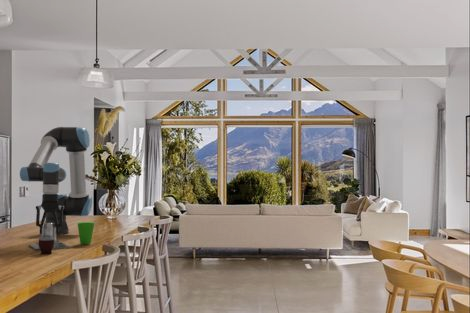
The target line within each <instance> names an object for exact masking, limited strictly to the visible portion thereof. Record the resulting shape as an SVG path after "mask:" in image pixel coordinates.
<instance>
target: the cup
mask: <svg viewBox="0 0 470 313" xmlns="http://www.w3.org/2000/svg"><path fill="white" fill-rule="evenodd" d="M76 224H77V229H78V230H77V231H78V236H79V243H80V245H81V244H89V245H91V243H92V238H93V233H94V229H95V228H94V227H95V222H91V221H90V222H89V221H84V222H77V223H76Z"/></svg>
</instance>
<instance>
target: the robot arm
mask: <svg viewBox="0 0 470 313" xmlns="http://www.w3.org/2000/svg"><path fill="white" fill-rule="evenodd" d="M90 142H91V141H90V134H89V131H88V130H87V128H85V127H79V126H58V127H55V128H52V129H50V130H48V131H47V132H46V133H45V134H44V135H43V136H42V138H41V140H40V145H39V147H38V148H37V150H36V152H35V154H34V155H33V157H32V159H31V161H30V162H29V164H28V166H21V168H20V170H19V177H20V181H22V182H30V183H31V182H39V183H40V182H42V193H43V194H42V199H41V201H42V202H41V204H40V205H36V206H35V210H36V216H35V217H36V219H35V226H36V227H39V234H40V235H41V236H44V223H55V227H54V241H56V240H57V235H66V234H69V232H70V229H69V224H68V223H67V217H69V216H71V217H87V216H89V215H90V214H91V211H92V206H93V197H91V196H89V195H90V193H89V192H88V191H87V188H86V186H87V185H86V184H87V183H86V168H85V167H86V164H85V153H86V151H87V150H88V148H89V147H90ZM57 148H65V152H66V153H68V160H69V178H70V179H69V181H70V192H69V193H68V196H67V193H62V194H59V187H60V185H59V184H60V183H61V182H63V181H65V179H66V178H67V171H66V170H65V169H64V168H62V167H60V164H59V163H58V162H48V161H49V160H50V157H51V156H52V154H53V153H54V151H55V150H57ZM41 210H43V214H42V217H41V216H40V215H41ZM40 217H41V218H40ZM40 219H41V221H40Z"/></svg>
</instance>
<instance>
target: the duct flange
mask: <svg viewBox="0 0 470 313" xmlns="http://www.w3.org/2000/svg"><path fill="white" fill-rule="evenodd" d="M54 242H55V243H54V247H53V249H52V250H65V249H64V248H68V249H70V246H69V245H67V244H65V243H63V242H60V241H59V239H56V241H54ZM28 246H29V247H30V248H31V249H32V250H34V251H41V250H40V248H39V245H38V243H31V244H28Z"/></svg>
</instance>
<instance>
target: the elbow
mask: <svg viewBox="0 0 470 313" xmlns="http://www.w3.org/2000/svg"><path fill="white" fill-rule="evenodd" d="M43 226H44V236H45V227H46V223H45V222H44V224H43ZM54 227H55V223H47V233H46V236H53V238H54Z"/></svg>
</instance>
